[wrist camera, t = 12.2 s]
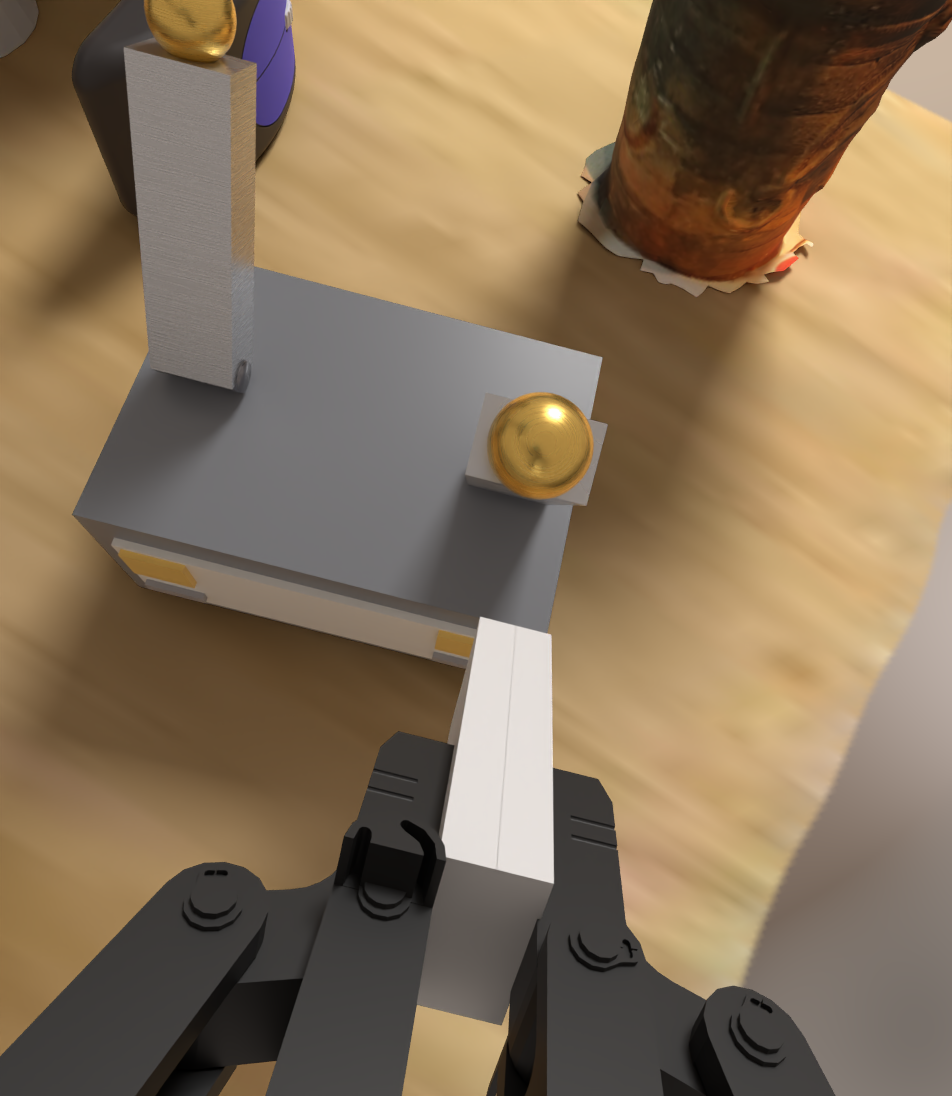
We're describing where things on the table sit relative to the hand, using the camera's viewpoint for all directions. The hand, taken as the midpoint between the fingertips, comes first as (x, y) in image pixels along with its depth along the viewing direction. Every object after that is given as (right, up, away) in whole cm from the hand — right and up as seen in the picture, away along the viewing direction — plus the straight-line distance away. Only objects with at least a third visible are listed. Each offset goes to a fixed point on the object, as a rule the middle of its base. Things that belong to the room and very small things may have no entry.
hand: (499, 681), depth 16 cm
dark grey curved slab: (-15, +26, +28) cm, 42 cm away
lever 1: (-11, +9, +13) cm, 19 cm away
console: (-6, +4, +21) cm, 22 cm away
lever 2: (+1, +6, +13) cm, 15 cm away
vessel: (+12, +23, +30) cm, 40 cm away
